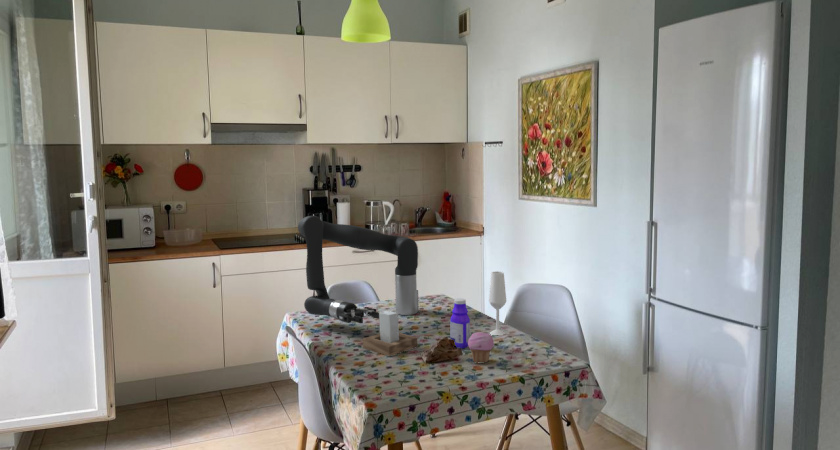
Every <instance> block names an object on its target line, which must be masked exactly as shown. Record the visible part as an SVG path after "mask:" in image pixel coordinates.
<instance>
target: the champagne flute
mask: <svg viewBox="0 0 840 450" xmlns="http://www.w3.org/2000/svg"><path fill="white" fill-rule="evenodd" d="M490 274H491V275H490V284H489V294H488V302H489V304H490V305H491V307H492V308H494V309H495V323H496V324H495V329H494V330H492V331H490V332H489V333H490V334H491V336H492V335H503V334H505V333H506V332H505V331H503V330H502V329H501V328H500V310H501V309H502V308H503V307H504V306H505V305H506V303H507V293H506V284H505V283H506V281H505V272H503V271H499V270H498V271H497V270H496V271H491V273H490Z"/></svg>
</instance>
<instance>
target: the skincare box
mask: <svg viewBox="0 0 840 450" xmlns="http://www.w3.org/2000/svg"><path fill="white" fill-rule="evenodd" d="M378 313H379V319H378V320H379V334H380V337H381V341H384V342H388V343H393V342H396V341H399V333H400V331H399V330H400V329H399V314H398V313H396V311H391V310H384V311H380V312H378Z"/></svg>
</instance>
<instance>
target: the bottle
mask: <svg viewBox="0 0 840 450" xmlns="http://www.w3.org/2000/svg"><path fill="white" fill-rule="evenodd" d="M466 301H467V300H466V299H465V298H463V297H458V298H454V305H453V309H452V311H451V312H452V315H451V317H450V323H449V324H450V327H449V328H450V332H449V333H450V334H449V335H450V336H449V338H450V339H452V340H454V342H455V345H456V347H455V348H459V349H465V348H469V346H468V340H469V338H470V337H471V330H470V329H471V319H470V317H469V315H468V313H469V310H468V308H467V303H466ZM450 339H449V340H450Z"/></svg>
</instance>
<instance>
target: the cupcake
mask: <svg viewBox="0 0 840 450" xmlns="http://www.w3.org/2000/svg"><path fill="white" fill-rule="evenodd" d="M493 338H494V337H493V336H492V335H490V334H489V333H485V332H481V331H479V332H473V333H472V334H471V335H470V338H469V340H468V348H469V349H470V351H471V355H472V359H473V360H472V361H473V362H474V363H475V362H476V363H475V364H479V363H478V362H486V363H487V362H488V361H489V359H490V353H491V350H492V349H493V348H494V345H495V344H494V339H493Z"/></svg>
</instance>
